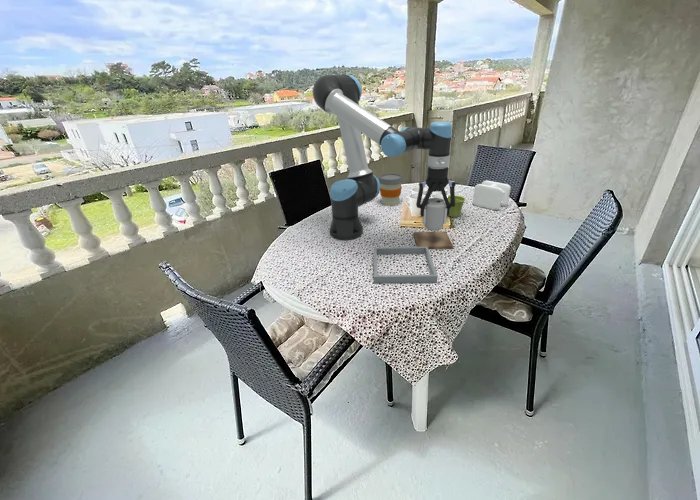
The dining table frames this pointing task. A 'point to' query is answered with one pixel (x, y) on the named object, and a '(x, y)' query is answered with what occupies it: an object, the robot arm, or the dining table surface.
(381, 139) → the robot arm
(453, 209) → the plant pot
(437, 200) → the can
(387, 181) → the reusable coffee cup
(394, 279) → the gray square frame
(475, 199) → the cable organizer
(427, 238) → the pad
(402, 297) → the dining table surface
